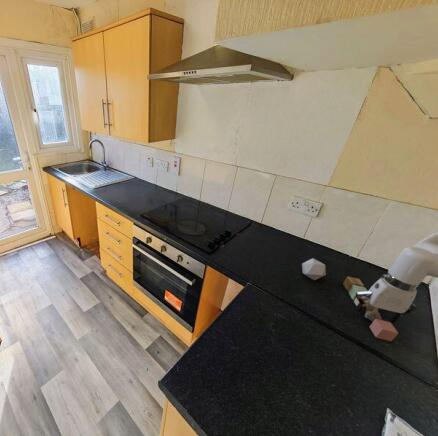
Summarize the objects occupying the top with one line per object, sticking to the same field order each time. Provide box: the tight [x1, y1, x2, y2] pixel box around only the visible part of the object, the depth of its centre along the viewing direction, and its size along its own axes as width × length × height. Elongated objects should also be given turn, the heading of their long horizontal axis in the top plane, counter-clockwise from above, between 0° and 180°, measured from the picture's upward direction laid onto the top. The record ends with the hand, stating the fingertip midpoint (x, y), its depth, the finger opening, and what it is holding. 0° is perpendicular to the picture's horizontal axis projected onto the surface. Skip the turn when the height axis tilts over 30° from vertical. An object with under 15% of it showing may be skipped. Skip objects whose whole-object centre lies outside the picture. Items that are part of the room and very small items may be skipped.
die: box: [301, 257, 327, 281], centre depth 103 cm, size 8×9×10 cm
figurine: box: [364, 307, 383, 323], centre depth 83 cm, size 5×4×6 cm
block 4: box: [369, 319, 399, 342], centre depth 78 cm, size 4×4×4 cm
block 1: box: [342, 276, 365, 292], centre depth 98 cm, size 4×4×4 cm
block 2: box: [347, 285, 368, 301], centre depth 93 cm, size 4×4×4 cm
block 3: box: [353, 297, 376, 312], centre depth 89 cm, size 4×4×4 cm
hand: (373, 315), depth 84 cm, fingers open, 9 cm apart
